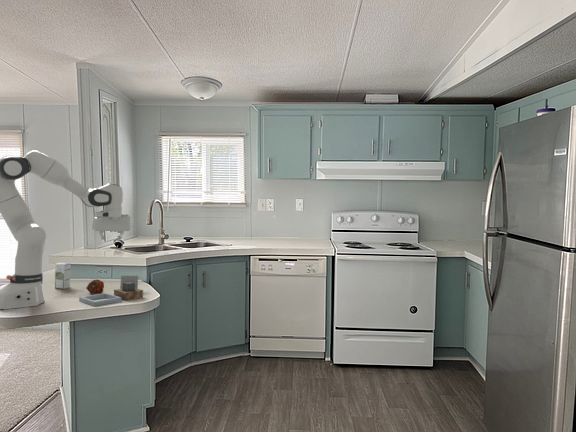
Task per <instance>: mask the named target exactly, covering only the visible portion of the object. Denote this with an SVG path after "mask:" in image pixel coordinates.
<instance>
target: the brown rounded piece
mask: <svg viewBox="0 0 576 432" xmlns="http://www.w3.org/2000/svg"><path fill="white" fill-rule="evenodd" d="M104 288H105V283H104V281H102V280H100V279H97V278H96V279H93V280H91V282H89V283H88V284H87V286H86V287H85V289H86V290H87V291H88V292H89V293H90V294H91V295H96V294H102V293H104Z"/></svg>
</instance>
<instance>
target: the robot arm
mask: <svg viewBox="0 0 576 432" xmlns="http://www.w3.org/2000/svg"><path fill="white" fill-rule="evenodd" d="M29 173H31V174H33V175H35V176H37V177H39V178H40V179H42V180H44V181H45V182H48V183H50V184H53V185H54V186H55V185H56V186H59V187H60V188H63V189H65V190H67V191H69V192H71V193H72V194H74V195H75V196H76V197H78V198H79V199H80V201H81V202H82V203H83V204H84V205H85V206H87V207H88V208H89V207H90V208H99V207H104V208H103V210H99V211H95V212H94V217H93V219H92V230H93V231H95V232H98V234H99V235H100V240H106V236H105V235H104V232H119V235H117V236H116V238H117V240H122V238H123V235H124V233H125V232H129V231H130V230H131V216H130V215H128V214H122V213H123V208H122V203H123V200H124V199H123V196H124V195H123V194H124V193H123V188H122V187H121V185H119V184H115V183H107V184H105V185H102V186H100V187H96V188H90V187H87V186H84V185H83V184H82V183H80V182H78V181H77V180H75V179H74V178H72V176H71V175H70V173H69V171H68V169H67V167H66V166H64V165H63V164H62V163H60V161H58V160H56V159H54V158H53V157H52V156H50V155H47V154H46V153H43V152H40V151H38V150H31V151H29V152H27V153H26V154H25V155H24V156H15V155H4V156H2V157H1V158H0V215H1V216H2V219H4V221H5V223H6V225H7V227H8V230H9V231H10V233H11V234H12V236H13V238H14V239H15V241H16V242H17V249H16V254H15V258H14V274H13V275H10V274H8V275H6V276H5V279H6V280H8V281H9V283H7V284H6V285H5V286H3V287H2V288H0V309H4V310H10V309H20V308H28V307H37V306H38V305H39V306H40V304H42V303H45V297H44V294H43V287H42V285H43V278H44V277H43V275H44V274H43V272H42V271H43V268H42V267H43V254H44V250H45V244H46V243H45V242H46V239H47V233H46V230H45V229H44V228H43V227H42V226H41V225H39V224H37V223H36V222H35V220H34V218H33V216H32V213H31V212H30V208H29V206H28V205H27V203H26V201H25V200H24V199H23V197H22V195H21V194H20V192H19V190H18V188H17V187H16V180H19V179H21V178H23V177H25V176H26V175H27V174H29Z"/></svg>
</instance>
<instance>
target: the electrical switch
mask: <svg viewBox="0 0 576 432" xmlns="http://www.w3.org/2000/svg"><path fill="white" fill-rule="evenodd" d="M124 282H134V283H135V288H137V289H139V287H138V285H139V276H138V275H121V276H120V284H119V285H120V286H119V289H122V286H123V283H124Z"/></svg>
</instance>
